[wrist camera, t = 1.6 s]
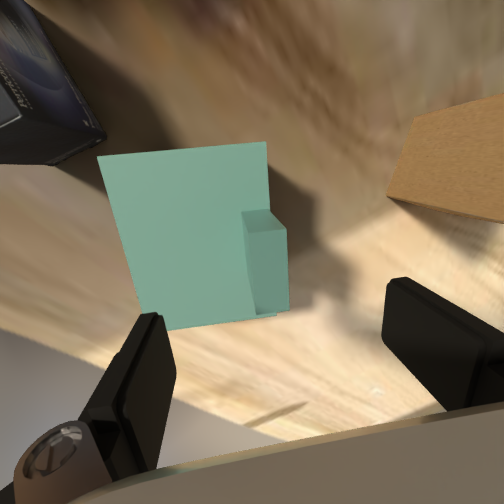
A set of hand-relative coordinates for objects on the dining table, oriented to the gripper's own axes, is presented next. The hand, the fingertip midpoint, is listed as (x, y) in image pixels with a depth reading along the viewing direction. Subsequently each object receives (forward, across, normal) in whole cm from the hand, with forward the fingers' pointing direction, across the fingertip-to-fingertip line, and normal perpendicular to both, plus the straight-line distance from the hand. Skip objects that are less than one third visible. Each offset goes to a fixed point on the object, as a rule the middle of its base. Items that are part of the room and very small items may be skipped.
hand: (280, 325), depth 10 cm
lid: (+11, +4, -1) cm, 11 cm away
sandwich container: (+18, -24, -3) cm, 30 cm away
